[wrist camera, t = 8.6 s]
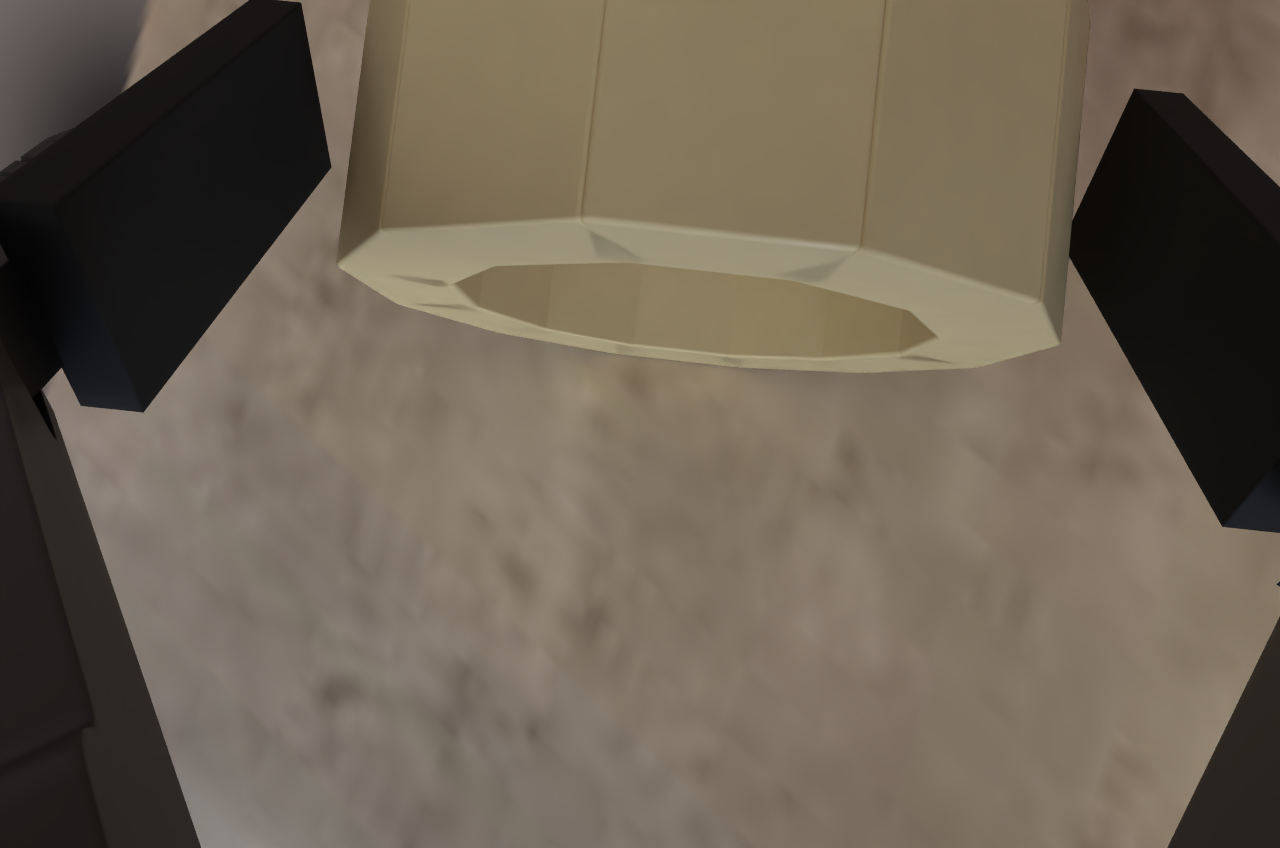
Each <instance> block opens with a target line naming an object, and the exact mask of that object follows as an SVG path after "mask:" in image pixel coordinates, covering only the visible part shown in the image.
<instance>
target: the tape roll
mask: <svg viewBox="0 0 1280 848" xmlns="http://www.w3.org/2000/svg"><path fill="white" fill-rule="evenodd" d="M1089 29H1090V20H1089V9H1088V0H370V3H369V11H368V19H367V27H366V34H365V42H364V50H363V58H362V66H361V73H360V81H359V89H358V97H357V105H356V112H355V120H354V128H353V136H352V144H351V152H350V159H349V167H348V175H347V183H346V191H345V198H344V206H343V214H342V222H341V230H340V237H339V245H338V253H337V261H336V262H337V265H338V267H339V268H340V269H342V270H344V271H345V272H347V273H348V274H350V275H352V276H353V277H355V278H356V279H358V280H360V281H361V282H363V283H364V284H366V285H367V286H369V287H371V288H372V289H374V290H375V291H377V292H379V293H380V294H382V295H383V296H385V297H386V298H388V299H390V300H391V301H393V302H395V303H397V304H399V305H403V306H406V307H410V308H413V309H417V310H420V311H424V312H427V313H431V314H434V315H438V316H441V317H445V318H448V319H452V320H455V321H458V322H462V323H465V324H469V325H472V326H476V327H479V328H483V329H486V330H490V331H493V332H498V333H502V334H508V335H513V336H519V337H525V338H530V339H536V340H541V341H547V342H552V343H558V344H563V345H569V346H575V347H580V348H586V349H591V350H597V351H602V352H608V353H613V354H615V353H617V354H622V355H631V356H640V357H649V358H658V359H667V360H676V361H685V362H694V363H703V364H712V365H721V366H730V367H742V368H761V369H783V370H806V371H828V372H851V373H864V372H865V373H875V372H896V371H917V370H938V369H960V368H975V367H983V366H986V365H990V364H993V363H997V362H1001V361H1004V360H1008V359H1012V358H1015V357H1019V356H1022V355H1026V354H1030V353H1033V352H1037V351H1040V350H1044V349H1048V348H1051V347H1055V346H1058V345H1060V343H1061V336H1062V325H1063V314H1064V303H1065V292H1066V281H1067V270H1068V259H1069V248H1070V237H1071V226H1072V215H1073V204H1074V193H1075V182H1076V171H1077V160H1078V149H1079V138H1080V128H1081V117H1082V106H1083V95H1084V84H1085V73H1086V62H1087V51H1088V40H1089Z"/></svg>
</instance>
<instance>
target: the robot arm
mask: <svg viewBox="0 0 1280 848" xmlns="http://www.w3.org/2000/svg"><path fill="white" fill-rule="evenodd" d="M330 168H331V162H330V157H329V152H328V146H327V141H326V135H325V130H324V124H323V119H322V114H321V108H320V103H319V97H318V92H317V86H316V81H315V76H314V70H313V65H312V59H311V54H310V48H309V43H308V38H307V32H306V27H305V21H304V16H303V10H302V5H301V3H299V2H289V1H279V0H249V1H248V2H246V3H245V4H244V5H242V6H241V7H239V8H238V9H237V10H235V11H234V12H233V13H231V14H230V15H228V16H227V17H226V18H224V19H223V20H222V21H220V22H219V23H217V24H216V25H215V26H213V27H212V28H211V29H209V30H208V31H206V32H205V33H204V34H202V35H201V36H200V37H198V38H197V39H196V40H194V41H193V42H191V43H190V44H189V45H187V46H186V47H185V48H183V49H182V50H180V51H179V52H178V53H176V54H175V55H174V56H172V57H171V58H169V59H168V60H167V61H165V62H164V63H163V64H161V65H160V66H159V67H157V68H156V69H154V70H153V71H152V72H150V73H149V74H148V75H146V76H145V77H143V78H142V79H141V80H139V81H138V82H137V83H135V84H134V85H132V86H131V87H130V88H128V89H127V90H126V91H124V92H123V93H122V94H120V95H119V96H117V97H116V98H115V99H113V100H112V101H111V102H109V103H108V104H106V105H105V106H104V107H102V108H101V109H100V110H98V111H97V112H96V113H94V114H93V115H91V116H90V117H89V118H87V119H86V120H85V121H83V122H82V123H80V124H79V125H78V126H76V127H75V128H72V129H70V130H67V131H64V132H62V133H59V134H57V135H54V136H52V137H49V138H47V139H45V140H44V141H43V142H41V143H40V144H39V145H37V146H35V147H34V148H33V149H31V150H30V151H28V152H27V153H26V154H24V155H23V156H21V161H15V162H13V163H12V164H10V165H9V166H8V167H6V168H5V169H3V170H2V171H1V172H0V848H201V846H200V843H199V840H198V837H197V834H196V831H195V828H194V825H193V822H192V819H191V816H190V813H189V811H188V808H187V805H186V802H185V799H184V796H183V793H182V790H181V787H180V784H179V781H178V778H177V775H176V772H175V769H174V766H173V763H172V760H171V757H170V754H169V751H168V748H167V745H166V742H165V739H164V736H163V734H162V731H161V728H160V725H159V722H158V719H157V716H156V713H155V710H154V707H153V704H152V701H151V698H150V695H149V692H148V689H147V686H146V683H145V680H144V677H143V674H142V671H141V668H140V665H139V662H138V660H137V657H136V654H135V651H134V648H133V645H132V642H131V639H130V636H129V633H128V630H127V627H126V624H125V621H124V618H123V615H122V612H121V609H120V606H119V603H118V600H117V597H116V594H115V591H114V588H113V585H112V583H111V580H110V577H109V574H108V571H107V568H106V565H105V562H104V559H103V556H102V553H101V550H100V547H99V544H98V541H97V538H96V535H95V532H94V529H93V526H92V523H91V520H90V517H89V514H88V511H87V509H86V506H85V503H84V500H83V497H82V494H81V491H80V488H79V485H78V482H77V479H76V476H75V473H74V470H73V467H72V464H71V461H70V458H69V455H68V452H67V449H66V446H65V443H64V440H63V437H62V434H61V432H60V429H59V426H58V423H57V420H56V417H55V414H54V411H53V409H52V407H51V405H50V404H49V402H48V400H47V398H46V396H45V394H44V392H43V390H42V388H43V387H44V386H45V385H46V384H47V383H48V382H49V380H50V379H51V378H52V377H53V376H54V375H55V374H56V373H57V372H58V371H59V370H60V369H61V368H62V369H63V371H64V373H65V375H66V377H67V379H68V381H69V383H70V385H71V387H72V389H73V391H74V393H75V395H76V397H77V399H78V401H79V403H80V405H81V406H88V407H98V408H107V409H117V410H126V411H135V412H144V411H145V410H146V408H147V407H148V406H149V404H150V403H151V402H152V401H153V399H154V398H155V397H156V395H157V394H158V393H159V391H160V390H161V389H162V387H163V386H164V385H165V384H166V382H167V381H168V380H169V378H170V377H171V376H172V374H173V373H174V372H175V371H176V369H177V368H178V367H179V365H180V364H181V363H182V361H183V360H184V359H185V357H186V356H187V355H188V354H189V352H190V351H191V350H192V348H193V347H194V346H195V344H196V343H197V342H198V341H199V339H200V338H201V337H202V335H203V334H204V333H205V331H206V330H207V329H208V327H209V326H210V325H211V324H212V322H213V321H214V320H215V318H216V317H217V316H218V314H219V313H220V312H221V311H222V309H223V308H224V307H225V305H226V304H227V303H228V301H229V300H230V299H231V298H232V296H233V295H234V294H235V292H236V291H237V290H238V288H239V287H240V286H241V284H242V283H243V282H244V281H245V279H246V278H247V277H248V275H249V274H250V273H251V271H252V270H253V269H254V268H255V266H256V265H257V264H258V262H259V261H260V260H261V258H262V257H263V256H264V254H265V253H266V252H267V251H268V249H269V248H270V247H271V245H272V244H273V243H274V241H275V240H276V239H277V238H278V236H279V235H280V234H281V232H282V231H283V230H284V228H285V227H286V226H287V225H288V223H289V222H290V221H291V219H292V218H293V217H294V215H295V214H296V213H297V211H298V210H299V209H300V208H301V206H302V205H303V204H304V202H305V201H306V200H307V198H308V197H309V196H310V195H311V193H312V192H313V191H314V189H315V188H316V187H317V185H318V184H319V183H320V181H321V180H322V179H323V178H324V176H325V175H326V174H327V172H328V171H329V170H330ZM1069 257H1070V259H1071V260H1072V262H1073V264H1074V266H1075V268H1076V269H1077V271H1078V273H1079V275H1080V276H1081V278H1082V280H1083V282H1084V283H1085V285H1086V287H1087V289H1088V290H1089V292H1090V294H1091V296H1092V298H1093V299H1094V301H1095V303H1096V305H1097V306H1098V308H1099V310H1100V312H1101V313H1102V315H1103V317H1104V319H1105V320H1106V322H1107V324H1108V326H1109V328H1110V329H1111V331H1112V333H1113V335H1114V336H1115V338H1116V340H1117V342H1118V343H1119V345H1120V347H1121V349H1122V350H1123V352H1124V354H1125V356H1126V358H1127V359H1128V361H1129V363H1130V365H1131V366H1132V368H1133V370H1134V372H1135V373H1136V375H1137V377H1138V379H1139V380H1140V382H1141V384H1142V386H1143V388H1144V389H1145V391H1146V393H1147V395H1148V396H1149V398H1150V400H1151V402H1152V403H1153V405H1154V407H1155V409H1156V410H1157V412H1158V414H1159V416H1160V417H1161V419H1162V421H1163V423H1164V425H1165V426H1166V428H1167V430H1168V432H1169V433H1170V435H1171V437H1172V439H1173V440H1174V442H1175V444H1176V446H1177V447H1178V449H1179V451H1180V453H1181V455H1182V456H1183V458H1184V460H1185V462H1186V463H1187V465H1188V467H1189V469H1190V470H1191V472H1192V474H1193V476H1194V477H1195V479H1196V481H1197V483H1198V485H1199V486H1200V488H1201V490H1202V492H1203V493H1204V495H1205V497H1206V499H1207V500H1208V502H1209V504H1210V506H1211V507H1212V509H1213V511H1214V513H1215V515H1216V516H1217V518H1218V520H1219V522H1220V523H1221V525H1222V527H1229V528H1239V529H1248V530H1258V531H1267V532H1276V533H1280V187H1279V186H1278V185H1277V184H1276V183H1275V182H1274V181H1273V180H1272V179H1271V178H1270V177H1269V176H1268V175H1267V174H1266V173H1265V172H1264V171H1263V170H1262V169H1260V168H1259V167H1258V166H1257V165H1256V164H1255V163H1254V162H1253V161H1252V160H1251V159H1250V158H1249V157H1248V156H1247V155H1246V154H1245V153H1244V152H1243V151H1242V150H1241V149H1240V148H1239V147H1238V146H1237V145H1236V144H1235V143H1234V142H1233V141H1232V140H1231V139H1229V138H1228V137H1227V136H1226V135H1225V134H1224V133H1223V132H1222V131H1221V130H1220V129H1219V128H1218V127H1217V126H1216V125H1215V124H1214V123H1213V122H1212V121H1211V120H1210V119H1209V118H1208V117H1207V116H1206V115H1205V114H1204V113H1203V112H1202V111H1201V110H1200V109H1198V108H1197V107H1196V106H1195V105H1194V104H1193V103H1192V102H1191V101H1190V100H1189V99H1188V98H1187V97H1186V96H1185V95H1184V94H1182V93H1172V92H1162V91H1153V90H1143V89H1134V90H1133V92H1132V94H1131V97H1130V99H1129V101H1128V103H1127V105H1126V107H1125V109H1124V111H1123V114H1122V116H1121V118H1120V120H1119V122H1118V124H1117V126H1116V129H1115V131H1114V133H1113V135H1112V137H1111V139H1110V141H1109V144H1108V146H1107V148H1106V150H1105V152H1104V154H1103V156H1102V159H1101V161H1100V163H1099V165H1098V167H1097V169H1096V171H1095V173H1094V176H1093V178H1092V180H1091V182H1090V184H1089V186H1088V188H1087V191H1086V193H1085V195H1084V197H1083V199H1082V201H1081V203H1080V206H1079V208H1078V210H1077V212H1076V214H1075V216H1074V218H1073V221H1072V226H1071V237H1070V248H1069ZM1277 585H1278V586H1280V582H1279V583H1278V584H1277ZM1168 848H1280V617H1279V619H1278V621H1277V624H1276V626H1275V628H1274V630H1273V632H1272V634H1271V636H1270V638H1269V640H1268V642H1267V644H1266V646H1265V648H1264V650H1263V652H1262V654H1261V656H1260V658H1259V660H1258V663H1257V665H1256V667H1255V669H1254V671H1253V673H1252V675H1251V677H1250V679H1249V681H1248V683H1247V685H1246V687H1245V689H1244V691H1243V693H1242V695H1241V697H1240V700H1239V702H1238V704H1237V706H1236V708H1235V710H1234V712H1233V714H1232V716H1231V718H1230V720H1229V722H1228V724H1227V726H1226V728H1225V730H1224V732H1223V734H1222V737H1221V739H1220V741H1219V743H1218V745H1217V747H1216V749H1215V751H1214V753H1213V755H1212V757H1211V759H1210V761H1209V763H1208V765H1207V767H1206V769H1205V771H1204V774H1203V776H1202V778H1201V780H1200V782H1199V784H1198V786H1197V788H1196V790H1195V792H1194V794H1193V796H1192V798H1191V800H1190V802H1189V804H1188V806H1187V808H1186V811H1185V813H1184V815H1183V817H1182V819H1181V821H1180V823H1179V825H1178V827H1177V829H1176V831H1175V833H1174V835H1173V837H1172V839H1171V841H1170V843H1169V845H1168Z"/></svg>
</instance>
